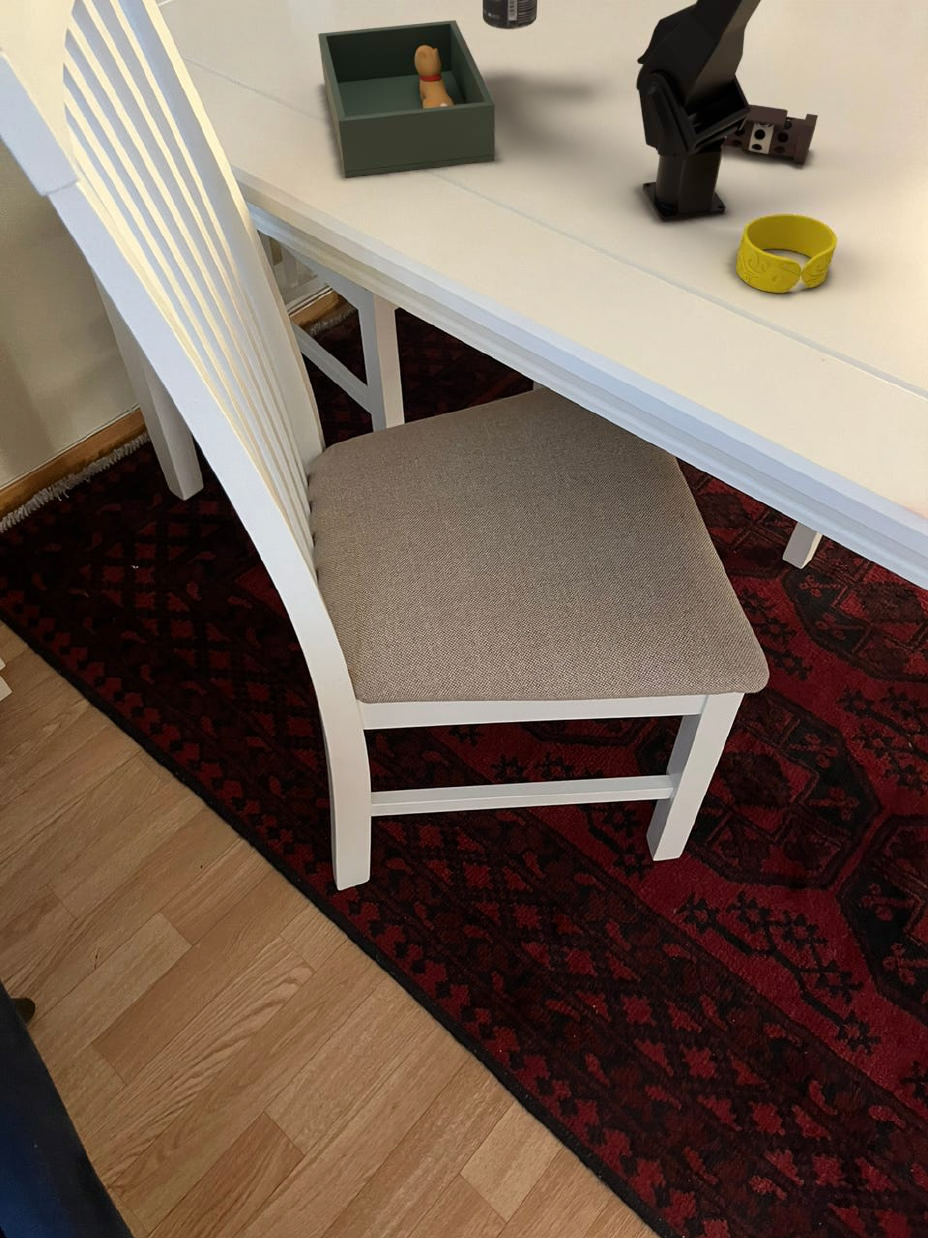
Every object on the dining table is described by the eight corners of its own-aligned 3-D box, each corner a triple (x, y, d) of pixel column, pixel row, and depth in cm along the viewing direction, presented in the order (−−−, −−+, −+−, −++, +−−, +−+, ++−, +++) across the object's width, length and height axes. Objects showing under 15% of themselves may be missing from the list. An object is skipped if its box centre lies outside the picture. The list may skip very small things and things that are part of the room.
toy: (438, 76, 108) (434, 28, 104) (467, 146, 98) (465, 96, 94) (409, 80, 108) (405, 33, 104) (436, 151, 97) (432, 100, 93)
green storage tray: (494, 160, 97) (494, 104, 93) (345, 177, 96) (338, 120, 91) (456, 72, 110) (455, 19, 106) (324, 86, 109) (318, 33, 104)
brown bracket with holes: (801, 173, 96) (808, 143, 91) (692, 155, 99) (693, 124, 94) (813, 134, 97) (820, 102, 91) (704, 117, 99) (705, 85, 94)
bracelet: (721, 255, 85) (728, 221, 83) (800, 241, 87) (809, 206, 84) (758, 299, 81) (767, 264, 78) (841, 283, 82) (852, 248, 80)
